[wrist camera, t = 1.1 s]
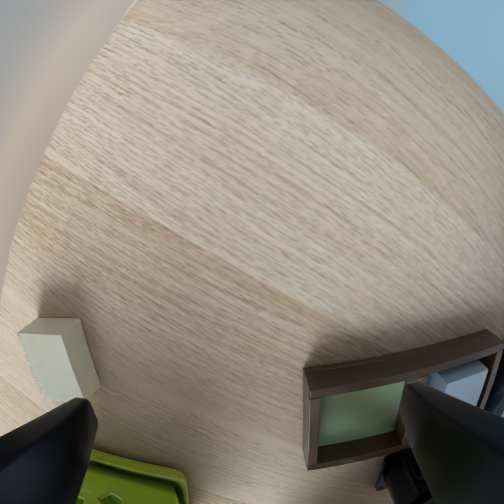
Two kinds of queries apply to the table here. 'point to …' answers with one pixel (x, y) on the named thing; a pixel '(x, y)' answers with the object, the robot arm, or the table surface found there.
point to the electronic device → (497, 395)
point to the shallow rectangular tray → (378, 398)
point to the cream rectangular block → (59, 358)
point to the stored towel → (461, 381)
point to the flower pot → (130, 482)
